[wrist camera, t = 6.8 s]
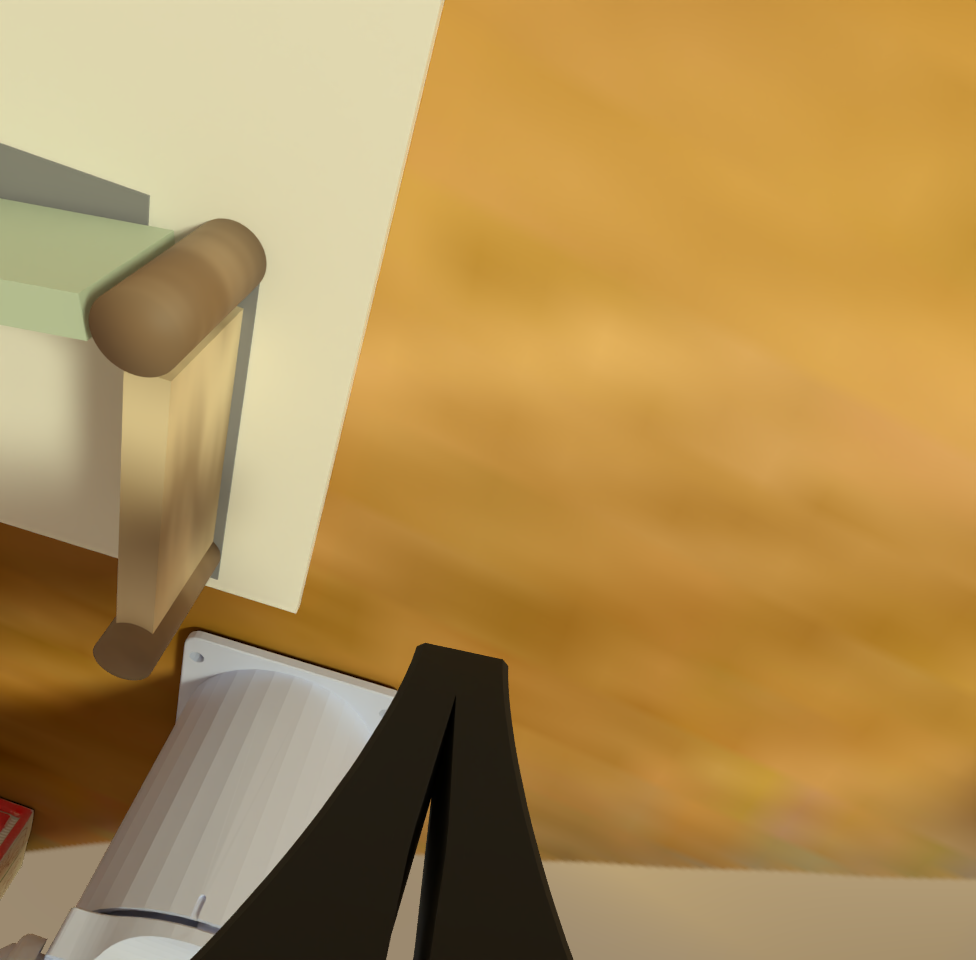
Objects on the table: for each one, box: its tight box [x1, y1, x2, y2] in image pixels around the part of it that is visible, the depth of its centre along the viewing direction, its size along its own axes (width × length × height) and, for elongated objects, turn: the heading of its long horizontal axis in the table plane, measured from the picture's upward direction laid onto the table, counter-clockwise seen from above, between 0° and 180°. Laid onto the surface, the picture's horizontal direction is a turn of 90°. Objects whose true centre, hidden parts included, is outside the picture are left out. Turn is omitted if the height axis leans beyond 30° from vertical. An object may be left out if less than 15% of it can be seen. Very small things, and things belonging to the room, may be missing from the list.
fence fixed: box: [89, 218, 267, 680], centre depth 19 cm, size 12×2×5 cm, turn 162°
